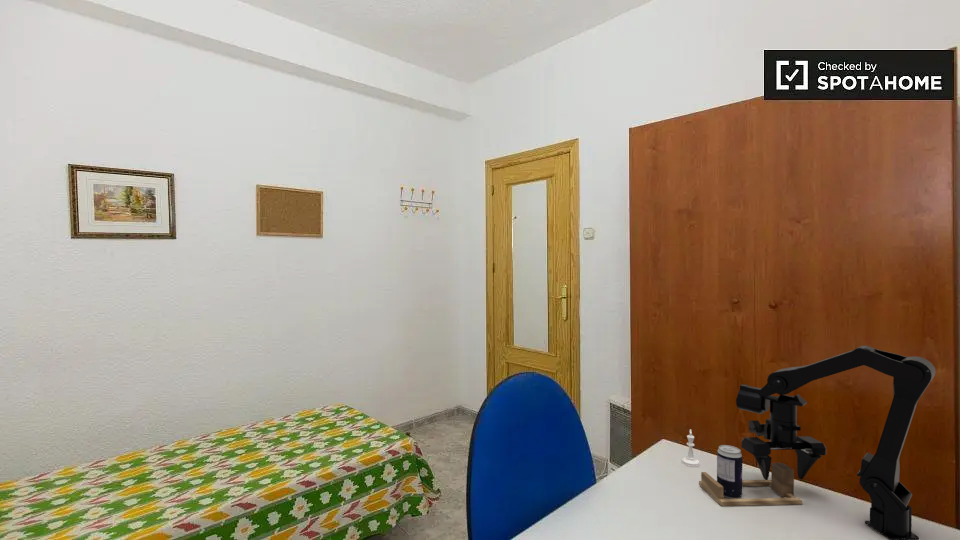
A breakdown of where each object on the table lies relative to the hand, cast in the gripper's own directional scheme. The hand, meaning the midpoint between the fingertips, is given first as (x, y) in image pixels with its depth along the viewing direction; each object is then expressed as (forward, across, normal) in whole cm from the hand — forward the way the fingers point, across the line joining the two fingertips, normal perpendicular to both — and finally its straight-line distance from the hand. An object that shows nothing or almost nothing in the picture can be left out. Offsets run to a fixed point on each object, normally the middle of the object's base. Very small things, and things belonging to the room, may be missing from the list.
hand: (782, 478), depth 113 cm
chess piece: (+4, +14, -19) cm, 24 cm away
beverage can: (+4, +14, 0) cm, 15 cm away
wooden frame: (+4, +9, 0) cm, 9 cm away
